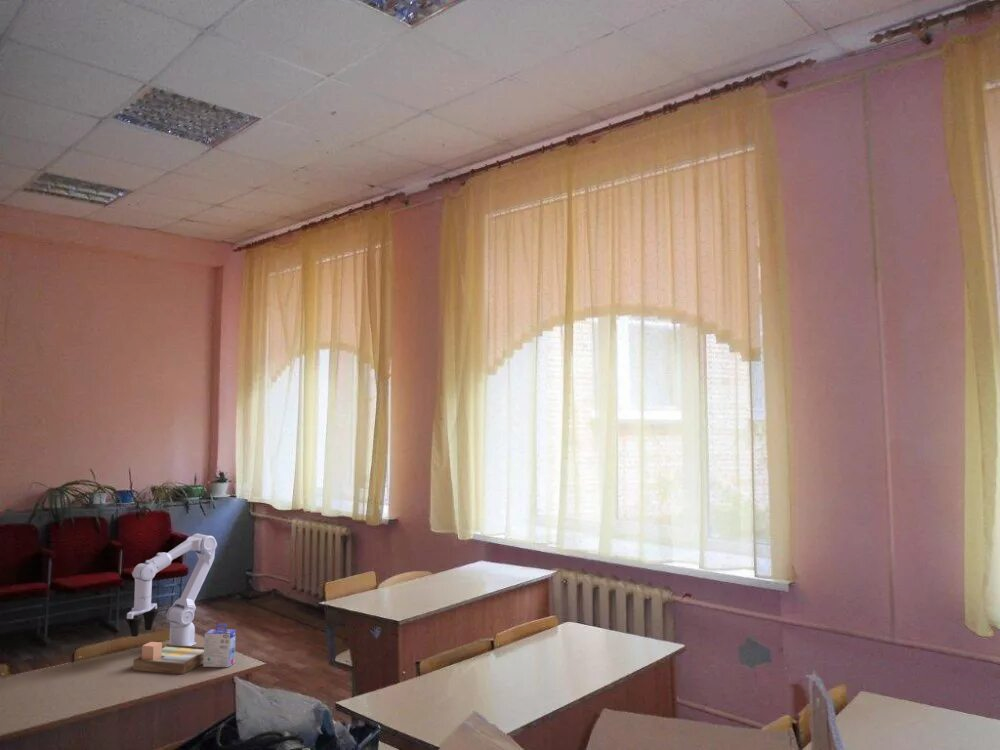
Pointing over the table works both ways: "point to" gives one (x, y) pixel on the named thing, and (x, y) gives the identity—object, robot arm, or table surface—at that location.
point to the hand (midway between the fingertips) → (141, 633)
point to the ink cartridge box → (219, 647)
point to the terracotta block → (152, 651)
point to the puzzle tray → (169, 664)
